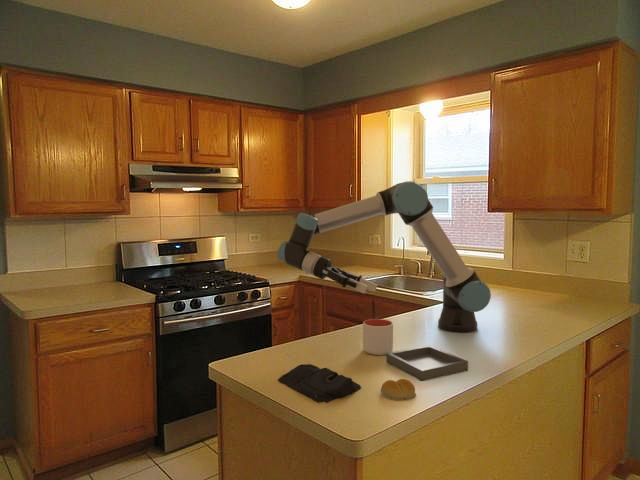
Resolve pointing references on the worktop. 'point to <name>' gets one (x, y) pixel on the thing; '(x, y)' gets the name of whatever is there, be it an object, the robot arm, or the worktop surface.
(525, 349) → the worktop surface
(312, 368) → the dark slate chunk
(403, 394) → the bread roll
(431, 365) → the tray
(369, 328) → the cup
